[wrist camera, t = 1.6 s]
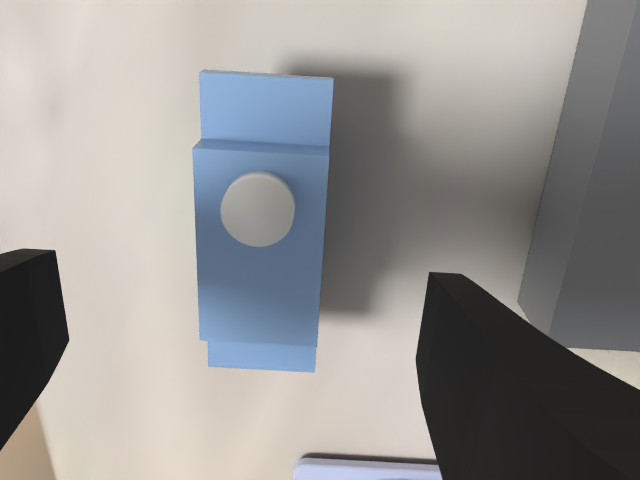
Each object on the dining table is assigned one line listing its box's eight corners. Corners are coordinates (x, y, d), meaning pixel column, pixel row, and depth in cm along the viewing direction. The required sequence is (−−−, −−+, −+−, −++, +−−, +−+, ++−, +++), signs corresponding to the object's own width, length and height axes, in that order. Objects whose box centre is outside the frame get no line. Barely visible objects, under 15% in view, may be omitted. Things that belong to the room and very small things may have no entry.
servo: (317, 314, 18) (313, 409, 14) (227, 309, 18) (196, 402, 14) (333, 65, 15) (334, 90, 11) (223, 58, 15) (182, 81, 11)
